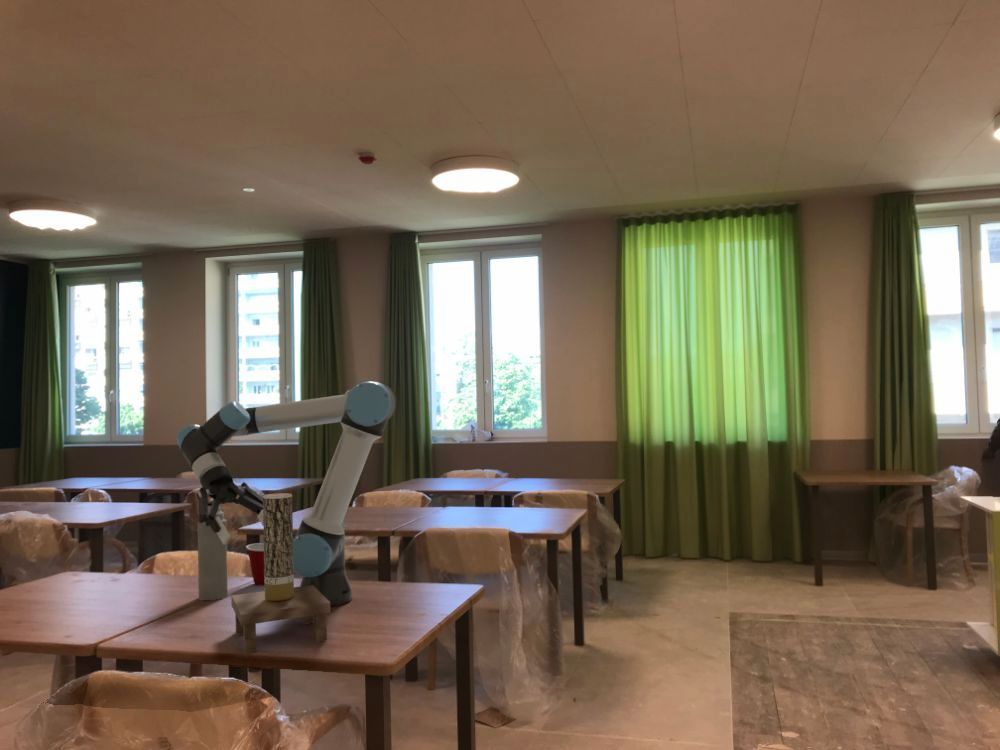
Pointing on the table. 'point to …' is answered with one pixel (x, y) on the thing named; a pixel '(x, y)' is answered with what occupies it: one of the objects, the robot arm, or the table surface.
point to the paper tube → (278, 546)
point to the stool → (279, 612)
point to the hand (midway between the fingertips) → (250, 536)
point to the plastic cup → (257, 562)
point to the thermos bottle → (212, 561)
